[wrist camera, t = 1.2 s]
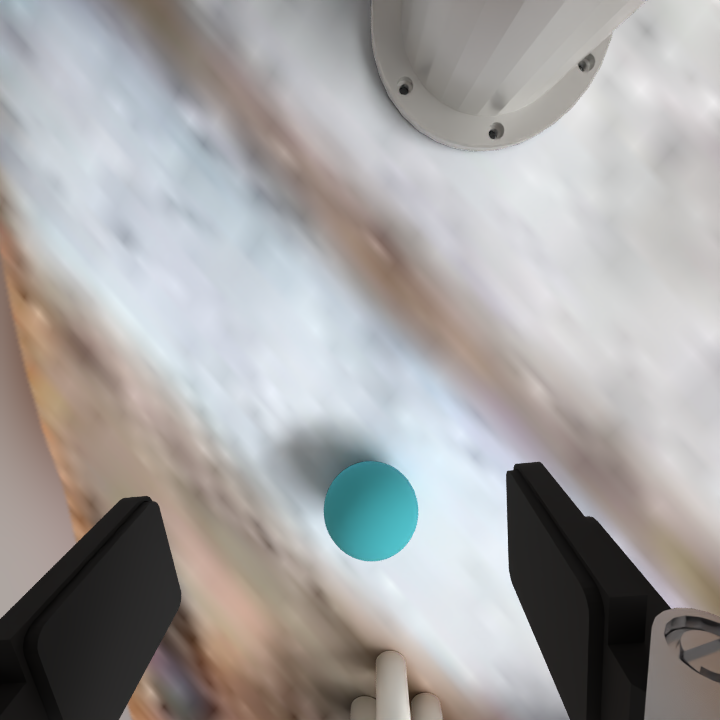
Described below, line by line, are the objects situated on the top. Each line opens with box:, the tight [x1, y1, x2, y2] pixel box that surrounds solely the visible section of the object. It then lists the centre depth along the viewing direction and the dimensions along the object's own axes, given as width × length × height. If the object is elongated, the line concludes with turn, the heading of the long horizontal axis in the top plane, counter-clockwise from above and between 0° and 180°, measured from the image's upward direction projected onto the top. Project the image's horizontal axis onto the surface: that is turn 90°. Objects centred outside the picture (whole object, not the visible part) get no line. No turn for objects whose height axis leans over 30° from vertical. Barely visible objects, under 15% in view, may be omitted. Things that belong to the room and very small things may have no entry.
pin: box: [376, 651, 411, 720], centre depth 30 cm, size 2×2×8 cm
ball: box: [324, 461, 418, 561], centre depth 27 cm, size 6×6×6 cm
